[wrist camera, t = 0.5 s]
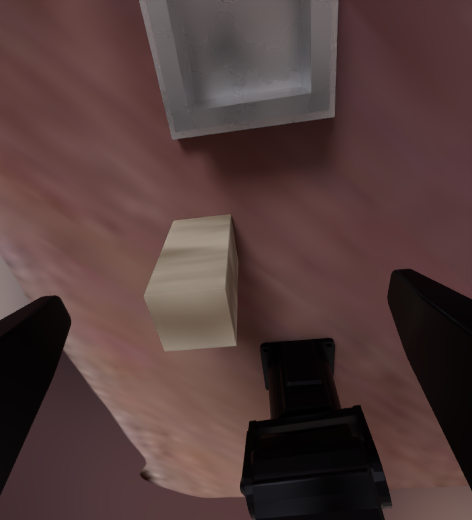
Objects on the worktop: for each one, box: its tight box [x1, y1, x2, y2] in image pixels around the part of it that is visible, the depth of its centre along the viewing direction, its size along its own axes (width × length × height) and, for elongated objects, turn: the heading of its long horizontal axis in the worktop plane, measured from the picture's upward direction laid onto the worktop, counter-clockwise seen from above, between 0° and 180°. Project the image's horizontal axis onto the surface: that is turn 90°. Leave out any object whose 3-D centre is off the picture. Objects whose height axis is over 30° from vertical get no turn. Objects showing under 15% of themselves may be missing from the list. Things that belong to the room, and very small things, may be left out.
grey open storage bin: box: [139, 0, 338, 140], centre depth 14 cm, size 9×9×4 cm
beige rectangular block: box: [144, 214, 238, 351], centre depth 20 cm, size 4×4×8 cm
